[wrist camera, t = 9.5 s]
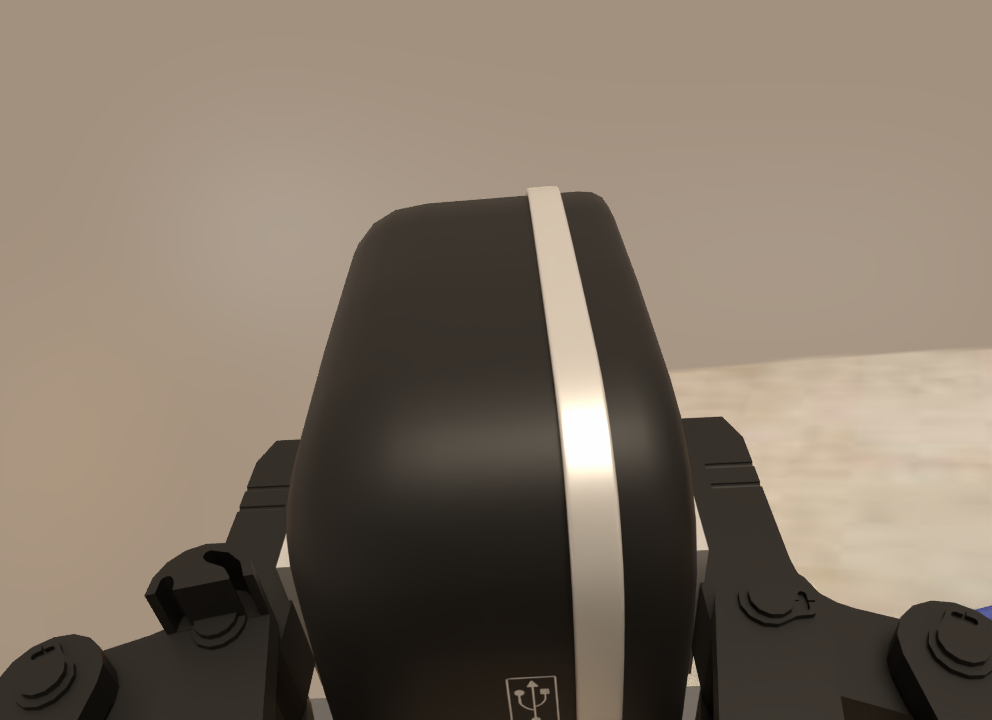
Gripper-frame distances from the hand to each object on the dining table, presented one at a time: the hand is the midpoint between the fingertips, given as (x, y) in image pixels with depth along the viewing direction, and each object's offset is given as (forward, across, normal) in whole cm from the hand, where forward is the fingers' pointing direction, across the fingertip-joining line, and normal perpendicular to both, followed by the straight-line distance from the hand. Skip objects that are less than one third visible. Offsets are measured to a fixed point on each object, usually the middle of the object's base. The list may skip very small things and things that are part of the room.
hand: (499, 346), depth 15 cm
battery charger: (-5, 0, -7) cm, 9 cm away
